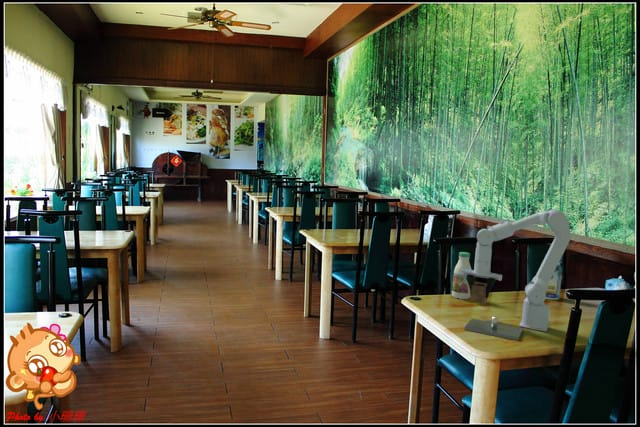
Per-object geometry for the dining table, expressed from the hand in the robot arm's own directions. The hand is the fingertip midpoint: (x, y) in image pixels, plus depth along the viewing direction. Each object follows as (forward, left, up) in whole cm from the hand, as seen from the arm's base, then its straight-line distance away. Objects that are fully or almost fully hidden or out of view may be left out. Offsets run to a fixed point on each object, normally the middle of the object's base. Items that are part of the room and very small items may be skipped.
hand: (479, 296), depth 200 cm
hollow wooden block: (0, 0, -2) cm, 2 cm away
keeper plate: (-8, +11, -9) cm, 16 cm away
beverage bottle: (-21, -58, -9) cm, 62 cm away
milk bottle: (+13, -29, -9) cm, 33 cm away
